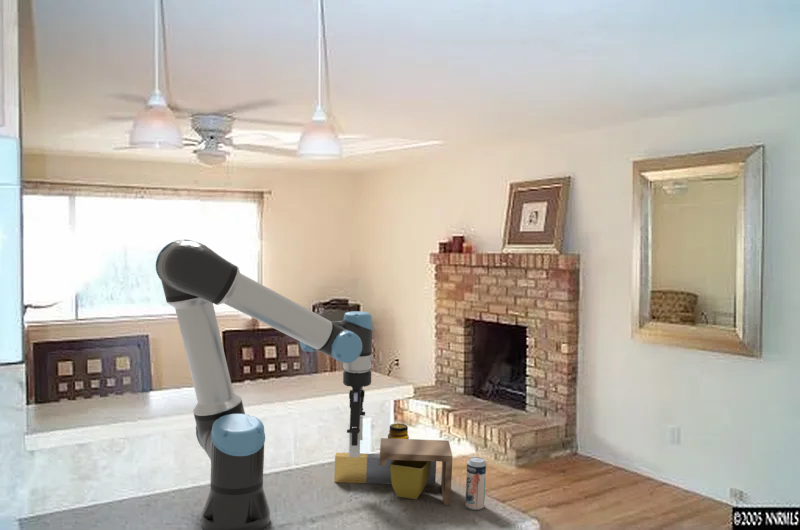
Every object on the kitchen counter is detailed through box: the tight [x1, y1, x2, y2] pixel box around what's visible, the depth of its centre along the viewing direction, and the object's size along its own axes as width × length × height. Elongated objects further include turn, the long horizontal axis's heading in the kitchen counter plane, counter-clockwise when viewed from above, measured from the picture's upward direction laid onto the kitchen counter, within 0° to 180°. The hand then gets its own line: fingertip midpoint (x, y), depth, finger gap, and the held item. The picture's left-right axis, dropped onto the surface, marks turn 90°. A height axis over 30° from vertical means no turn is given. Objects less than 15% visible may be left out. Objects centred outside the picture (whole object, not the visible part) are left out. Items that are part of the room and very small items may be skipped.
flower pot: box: [390, 460, 431, 500], centre depth 171 cm, size 9×9×9 cm
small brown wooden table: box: [379, 437, 453, 506], centre depth 171 cm, size 18×12×12 cm, turn 91°
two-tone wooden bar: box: [333, 452, 437, 486], centre depth 179 cm, size 27×3×7 cm, turn 91°
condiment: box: [387, 422, 410, 439], centre depth 191 cm, size 7×8×12 cm
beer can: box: [464, 456, 487, 511], centre depth 165 cm, size 5×5×12 cm
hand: (356, 448), depth 179 cm, fingers open, 13 cm apart
